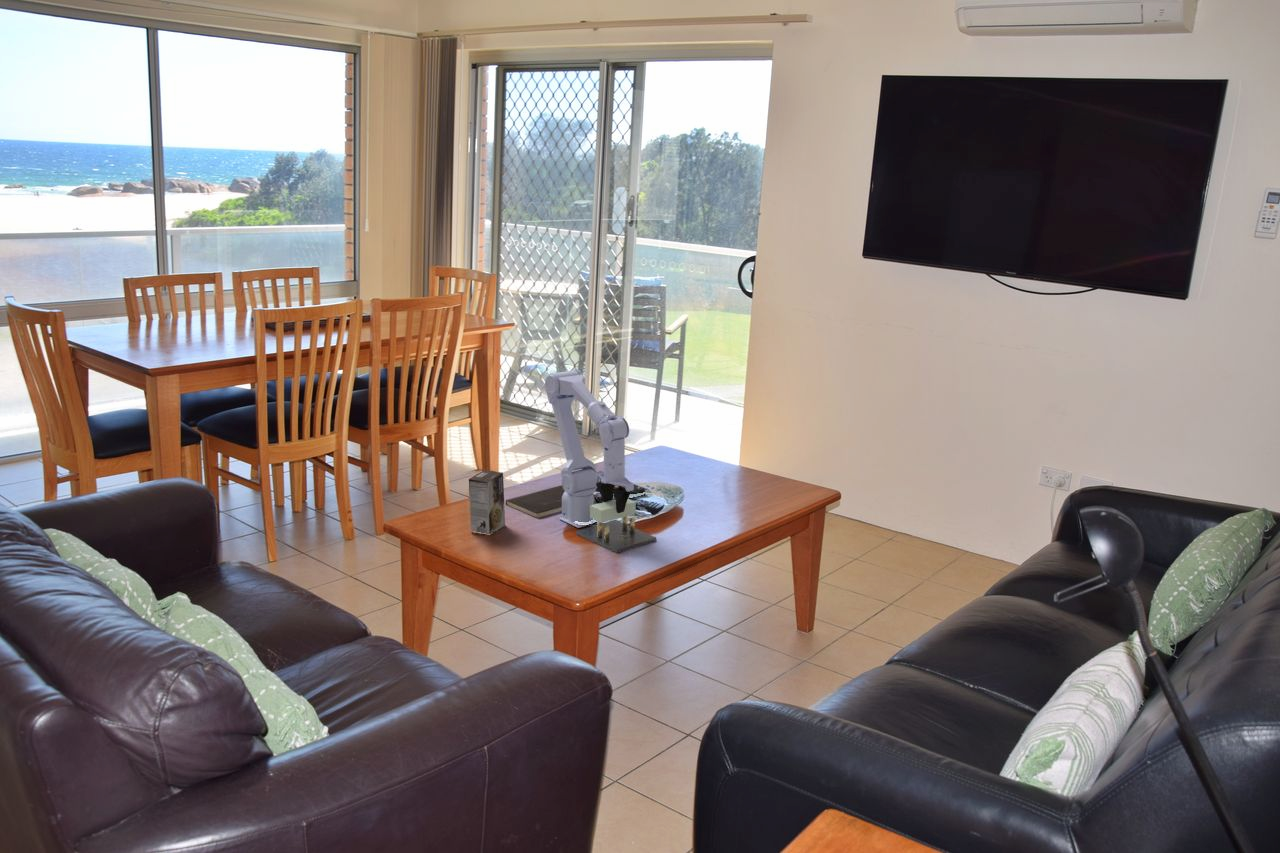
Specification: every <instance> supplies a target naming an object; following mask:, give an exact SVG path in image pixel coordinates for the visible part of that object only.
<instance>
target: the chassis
mask: <svg viewBox="0 0 1280 853" xmlns="http://www.w3.org/2000/svg"><path fill="white" fill-rule="evenodd" d="M621 519H622V521H619V520H617V519H614V520H610V521H606V522H602V523H601V522H597V523H596V525H595V524H594V525H593V526H589V527H588V526H587V527H585V528H581V529H578V530H576V532H575V534H576V535H578V536H579V537H582V538H583V539H586V540H587V541H589V542H592V543H594V544H597V545H599V546H601V547H603V548H604V549H607V550H609V551H611V552H613V553H616V554H618V553H621V552H622V553H623V552H625V551H628V550H631V549H634V548H638V547H640V546H644V545H648V544H650V543H654V542H656V541H657V537H656V536H654V535H651V534H649V533H647V532H644V531H642V530H640V529H638V528H635V526H636V524H635V523H636V522H635V521H636V520H635V518H634V517H629V524H628V516H625V517H622V518H621Z"/></svg>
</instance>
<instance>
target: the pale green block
mask: <svg viewBox="0 0 1280 853" xmlns="http://www.w3.org/2000/svg"><path fill="white" fill-rule="evenodd" d="M636 505H637V504H636V501H634V500H632V499H628V500H627V503H626V506H625V510H624V512H622V513H617V511H616V501H615V500H614V499H613V500H611V501H607V502H603V501H602V502H599V503H595V504H594V505H591V506H590V518H592V519H594V520H596V521H598V522H601V523H606V522H609V521H613V520H617V519H618V520H619V519H622V517H625V516H627V517H628V516H633V515H636V510H637V509H636Z"/></svg>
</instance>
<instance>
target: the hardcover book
mask: <svg viewBox="0 0 1280 853" xmlns="http://www.w3.org/2000/svg"><path fill="white" fill-rule="evenodd" d="M564 492H565V490H564V489H563V486H562V484H561V485H557V486H554V487H550V488H546V489H542V490H539V491H535V492H531V493H527V494H524V495H520V496H516V497H513V498H509V499H505V505H506V506H509V507H511V508H514V509H516V510H518V511H520V512H523V513H526V514H528V515H530V516H532V517H533V518H534V517H535V518H537V519H539V518H542V517H546V516H549V515H552V514H556V513H559V512H562V496H563V494H564ZM596 495H597V494H594V498H595V497H596ZM596 498H597V497H596Z"/></svg>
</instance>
